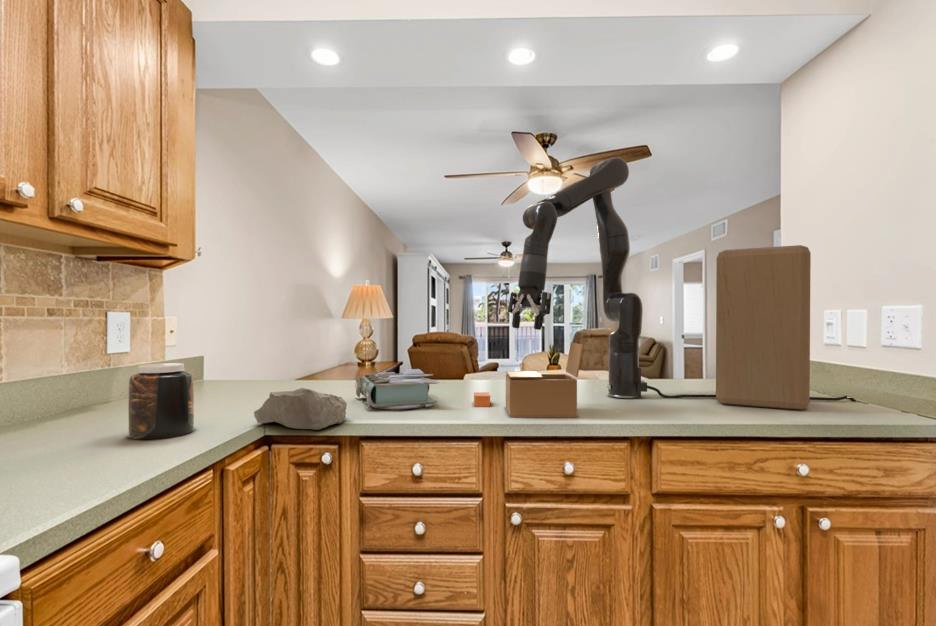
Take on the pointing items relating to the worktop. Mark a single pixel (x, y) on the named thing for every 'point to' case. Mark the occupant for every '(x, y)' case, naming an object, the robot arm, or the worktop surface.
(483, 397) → the block
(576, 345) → the cardboard box flap
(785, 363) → the wooden block
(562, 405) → the open shipping carton
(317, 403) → the stone
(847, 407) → the worktop surface
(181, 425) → the jar
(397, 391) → the ornate book
